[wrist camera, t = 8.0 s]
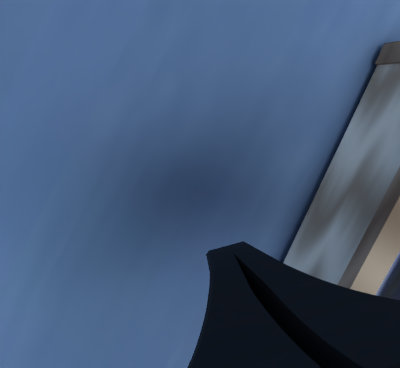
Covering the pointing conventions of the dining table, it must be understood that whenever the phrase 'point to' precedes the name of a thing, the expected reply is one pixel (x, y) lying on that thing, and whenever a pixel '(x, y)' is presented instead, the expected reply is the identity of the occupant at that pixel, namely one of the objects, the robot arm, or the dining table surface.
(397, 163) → the gate
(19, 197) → the dining table surface
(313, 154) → the dining table surface
